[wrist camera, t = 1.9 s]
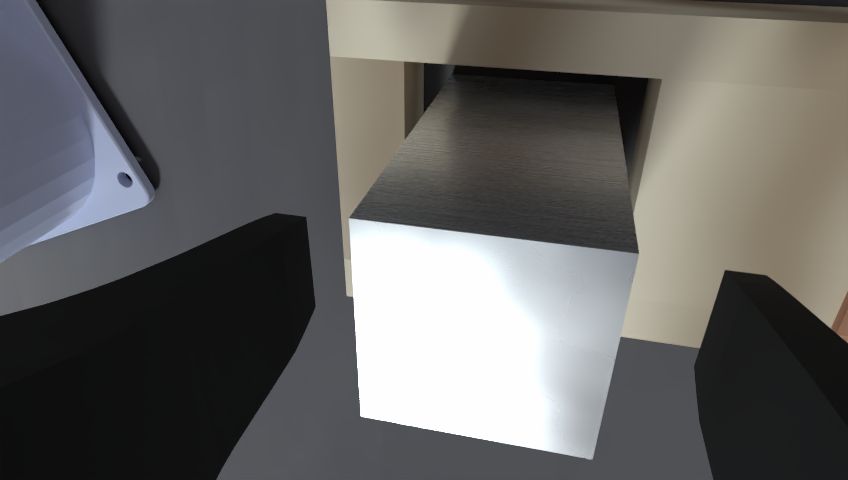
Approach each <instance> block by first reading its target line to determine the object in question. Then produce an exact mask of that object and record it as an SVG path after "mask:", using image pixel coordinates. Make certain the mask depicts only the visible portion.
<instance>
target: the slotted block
mask: <svg viewBox="0 0 848 480" xmlns="http://www.w3.org/2000/svg"><path fill="white" fill-rule="evenodd" d="M326 5H327V19H328V33H329V48H330V62H331V76H332V91H333V105H334V119H335V134H336V148H337V162H338V177H339V191H340V205H341V220H342V234H343V248H344V263H345V277H346V291H347V296H351V297H354V293H353V277H352V261H351V245H350V229H349V217H350V216H351V215H352V213H353V212H354V210H355V209H356V208H357V206H358V205H359V203H360V202H361V201H362V199H363V198H364V196H365V195H366V194H367V192H368V191H369V189H370V188H371V187H372V185H373V184H374V183H375V181H376V180H377V178H378V177H379V176H380V174H381V173H382V171H383V170H384V169H385V167H386V166H387V164H388V163H389V162H390V160H391V159H392V157H393V156H394V155H395V153H396V152H397V150H398V149H399V148H400V146H401V145H402V143H403V142H404V141H405V139H406V138H407V136H408V135H409V134H410V132H411V131H412V130H413V128H414V127H415V125H416V124H417V123H418V121H419V120H420V118H421V117H422V116H423V114H424V63H436V64H451V65H465V66H480V67H495V68H509V69H524V70H539V71H554V72H568V73H583V74H598V75H612V76H627V77H642V78H648V83H647V88H646V93H645V98H644V103H643V108H642V113H641V118H640V123H639V128H638V133H637V138H636V143H635V148H634V153H633V158H632V163H631V168H630V173H629V178H628V182H629V189H630V196H631V202H632V209H633V216H634V222H635V229H636V236H637V242H638V249H639V257H638V261H637V266H636V270H635V275H634V279H633V283H632V288H631V292H630V296H629V301H628V305H627V310H626V314H625V318H624V323H623V327H622V332H621V337H628V338H635V339H642V340H648V341H655V342H662V343H669V344H675V345H682V346H689V347H696V348H700V347H701V344H702V340H703V337H704V334H705V331H706V328H707V325H708V322H709V318H710V315H711V312H712V309H713V306H714V303H715V300H716V297H717V293H718V290H719V287H720V284H721V281H722V278H723V275H724V271H725V270H730V271H738V272H746V273H753V274H761V275H767V276H768V277H770V278H771V279H772V280H774V281H775V282H776V283H778V284H779V285H780V286H781V287H783V288H784V289H785V290H786V291H788V292H789V293H790V294H791V295H792V296H793V297H795V298H796V299H797V300H798V301H799V302H801V303H802V304H803V305H804V306H805V307H806V308H807V309H809V310H810V311H811V312H812V313H813V314H814V315H816V316H817V317H818V318H819V319H820V320H821V321H823V322H824V323H825V324H826V325H827V326H828V327H830V328H831V329H832V330H833V331H834V332H835V333H837V334H838V335H839V336H840V337H841V338H842V339H844V340H845V341H846V342H847V343H848V7H832V6H809V5H786V4H763V3H740V2H718V1H695V0H326Z"/></svg>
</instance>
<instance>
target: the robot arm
mask: <svg viewBox="0 0 848 480" xmlns="http://www.w3.org/2000/svg"><path fill="white" fill-rule="evenodd" d="M126 174H128V175H129V176H130V177H131V179H132V181H130V180H129V179H128V178H127V176H126ZM154 197H155V191H154V188H153V186H152V184H151V183H150V181H149V179H148V178H147V176H146V175H145V173H144V171H143V170H142V168H141V167H140V165H139V164H138V162H137V160H136V159H135V157H134V156H133V154H132V152H131V151H130V149H129V148H128V146H127V144H126V143H125V141H124V140H123V138H122V137H121V135H120V133H119V132H118V130H117V129H116V127H115V125H114V124H113V122H112V121H111V119H110V118H109V116H108V114H107V113H106V111H105V110H104V108H103V106H102V105H101V103H100V102H99V100H98V98H97V97H96V95H95V94H94V92H93V91H92V89H91V87H90V86H89V84H88V83H87V81H86V79H85V78H84V76H83V75H82V73H81V71H80V70H79V68H78V67H77V65H76V64H75V62H74V60H73V59H72V57H71V56H70V54H69V52H68V51H67V49H66V48H65V46H64V44H63V43H62V41H61V40H60V38H59V37H58V35H57V33H56V32H55V30H54V29H53V27H52V25H51V24H50V22H49V21H48V19H47V17H46V16H45V14H44V13H43V11H42V10H41V8H40V6H39V5H38V3H37V2H36V0H0V263H1V262H3V261H4V260H6V259H7V258H9V257H10V256H12V255H14V254H15V253H17V252H18V251H20V250H21V249H23V248H25V247H26V246H29V245H32V244H35V243H38V242H41V241H44V240H47V239H50V238H52V237H55V236H58V235H61V234H64V233H67V232H70V231H73V230H76V229H79V228H82V227H85V226H88V225H91V224H94V223H97V222H100V221H103V220H106V219H109V218H112V217H115V216H118V215H121V214H124V213H127V212H130V211H133V210H136V209H139V208H141V207H144V206H146V205H147V204H148V203H150V202H151V201H153V199H154ZM314 309H315V297H314V288H313V278H312V268H311V259H310V249H309V240H308V230H307V220H306V217H302V216H294V215H286V214H279V213H275V214H272V215H268V216H265V217H263V218H260V219H258V220H255V221H253V222H250V223H248V224H246V225H243V226H241V227H239V228H237V229H234V230H232V231H230V232H228V233H226V234H223V235H221V236H219V237H217V238H215V239H212V240H210V241H208V242H206V243H204V244H201V245H199V246H197V247H195V248H193V249H190V250H188V251H186V252H184V253H182V254H179V255H177V256H175V257H172V258H170V259H167V260H165V261H163V262H160V263H158V264H155V265H153V266H150V267H148V268H146V269H143V270H141V271H138V272H136V273H134V274H131V275H129V276H126V277H124V278H121V279H119V280H116V281H113V282H111V283H108V284H105V285H102V286H99V287H97V288H94V289H91V290H88V291H85V292H82V293H79V294H76V295H73V296H70V297H67V298H63V299H60V300H57V301H54V302H51V303H47V304H44V305H40V306H37V307H33V308H29V309H25V310H22V311H18V312H14V313H10V314H6V315H3V316H0V480H216V479H217V477H218V475H219V473H220V471H221V469H222V467H223V466H224V464H225V462H226V460H227V459H228V457H229V455H230V454H231V452H232V450H233V448H234V447H235V445H236V444H237V442H238V441H239V439H240V437H241V436H242V434H243V433H244V431H245V430H246V428H247V427H248V425H249V423H250V422H251V420H252V419H253V417H254V416H255V414H256V413H257V411H258V410H259V408H260V406H261V405H262V403H263V402H264V400H265V399H266V397H267V396H268V394H269V392H270V391H271V389H272V388H273V386H274V385H275V383H276V382H277V380H278V378H279V377H280V375H281V374H282V372H283V370H284V369H285V367H286V366H287V364H288V363H289V361H290V359H291V358H292V356H293V354H294V353H295V351H296V349H297V347H298V345H299V343H300V341H301V339H302V336H303V334H304V332H305V330H306V328H307V325H308V323H309V321H310V318H311V316H312V314H313V311H314ZM694 370H695V382H696V393H697V403H698V412H699V421H700V425H701V430H702V434H703V438H704V442H705V447H706V451H707V455H708V459H709V463H710V467H711V471H712V475H713V479H714V480H848V343H847V342H846V341H845V340H844V339H842V338H841V337H840V336H839V335H838V334H837V333H835V332H834V331H833V330H832V329H831V328H830V327H828V326H827V325H826V324H825V323H824V322H823V321H821V320H820V319H819V318H818V317H817V316H816V315H814V314H813V313H812V312H811V311H810V310H809V309H807V308H806V307H805V306H804V305H803V304H802V303H801V302H799V301H798V300H797V299H796V298H795V297H793V296H792V295H791V294H790V293H789V292H788V291H786V290H785V289H784V288H783V287H781V286H780V285H779V284H778V283H776V282H775V281H774V280H772V279H771V278H770V277H768V276H767V275H761V274H753V273H746V272H738V271H730V270H725V271H724V275H723V278H722V281H721V284H720V287H719V290H718V293H717V297H716V300H715V303H714V306H713V309H712V312H711V315H710V318H709V322H708V325H707V328H706V331H705V334H704V337H703V340H702V344H701V347H700V350H699V353H698V356H697V359H696V362H695V365H694Z"/></svg>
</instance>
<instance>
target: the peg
mask: <svg viewBox="0 0 848 480" xmlns="http://www.w3.org/2000/svg"><path fill="white" fill-rule="evenodd" d="M349 229H350V245H351V261H352V277H353V293H354V309H355V325H356V341H357V357H358V373H359V388H360V404H361V416H364V417H369V418H374V419H380V420H385V421H390V422H396V423H401V424H406V425H412V426H417V427H422V428H427V429H433V430H438V431H443V432H449V433H454V434H459V435H465V436H470V437H475V438H481V439H486V440H491V441H497V442H502V443H507V444H513V445H518V446H523V447H529V448H534V449H539V450H545V451H550V452H555V453H560V454H566V455H571V456H576V457H582V458H587V459H593V455H594V450H595V446H596V441H597V437H598V433H599V428H600V424H601V419H602V415H603V411H604V406H605V402H606V398H607V393H608V389H609V384H610V380H611V376H612V371H613V367H614V362H615V358H616V354H617V349H618V345H619V340H620V336H621V332H622V327H623V323H624V318H625V314H626V310H627V305H628V301H629V296H630V292H631V288H632V283H633V279H634V275H635V270H636V266H637V261H638V257H639V249H638V242H637V236H636V229H635V222H634V216H633V209H632V202H631V196H630V189H629V182H628V176H627V169H626V162H625V156H624V149H623V142H622V136H621V129H620V122H619V115H618V109H617V102H616V95H615V89H614V85H605V84H591V83H577V82H563V81H549V80H535V79H521V78H507V77H492V76H478V75H464V74H452V75H451V77H450V78H449V79H448V81H447V82H446V84H445V85H444V86H443V88H442V89H441V90H440V92H439V93H438V95H437V96H436V97H435V99H434V100H433V102H432V103H431V104H430V106H429V107H428V109H427V110H426V111H425V113H424V114H423V116H422V117H421V118H420V120H419V121H418V123H417V124H416V125H415V127H414V128H413V130H412V131H411V132H410V134H409V135H408V136H407V138H406V139H405V141H404V142H403V143H402V145H401V146H400V148H399V149H398V150H397V152H396V153H395V155H394V156H393V157H392V159H391V160H390V162H389V163H388V164H387V166H386V167H385V169H384V170H383V171H382V173H381V174H380V176H379V177H378V178H377V180H376V181H375V183H374V184H373V185H372V187H371V188H370V189H369V191H368V192H367V194H366V195H365V196H364V198H363V199H362V201H361V202H360V203H359V205H358V206H357V208H356V209H355V210H354V212H353V213H352V215H351V216H350V217H349Z"/></svg>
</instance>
